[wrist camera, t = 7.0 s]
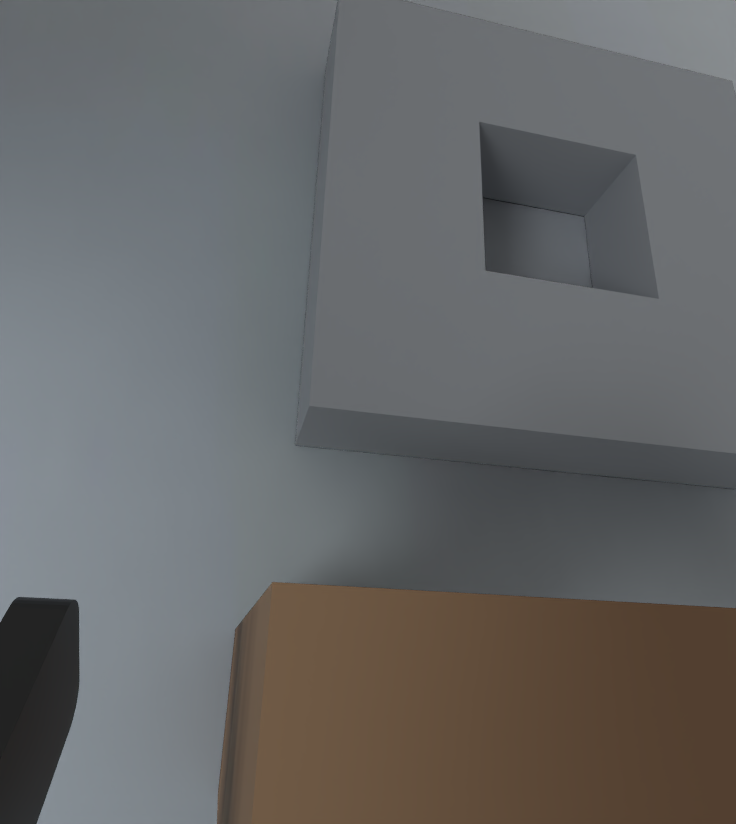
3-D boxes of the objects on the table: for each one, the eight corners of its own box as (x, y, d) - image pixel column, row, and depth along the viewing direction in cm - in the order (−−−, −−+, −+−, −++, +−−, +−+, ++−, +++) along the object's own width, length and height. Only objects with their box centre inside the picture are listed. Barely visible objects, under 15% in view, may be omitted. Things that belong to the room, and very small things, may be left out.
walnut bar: (218, 793, 13) (196, 1440, 3) (235, 629, 15) (272, 582, 4) (369, 791, 14) (876, 1299, 3) (373, 634, 15) (749, 609, 4)
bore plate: (295, 445, 17) (309, 405, 14) (325, 68, 22) (340, -16, 19) (740, 489, 19) (826, 463, 17) (674, 144, 24) (732, 80, 22)
